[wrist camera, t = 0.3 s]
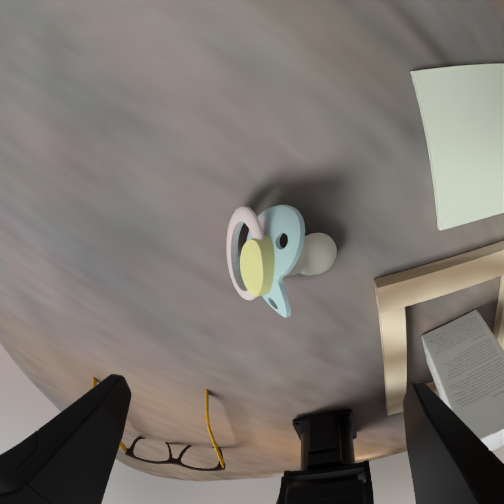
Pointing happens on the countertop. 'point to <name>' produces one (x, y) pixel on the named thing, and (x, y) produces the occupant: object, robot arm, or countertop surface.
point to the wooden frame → (425, 288)
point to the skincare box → (469, 374)
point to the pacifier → (274, 253)
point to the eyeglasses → (178, 461)
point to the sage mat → (464, 139)
